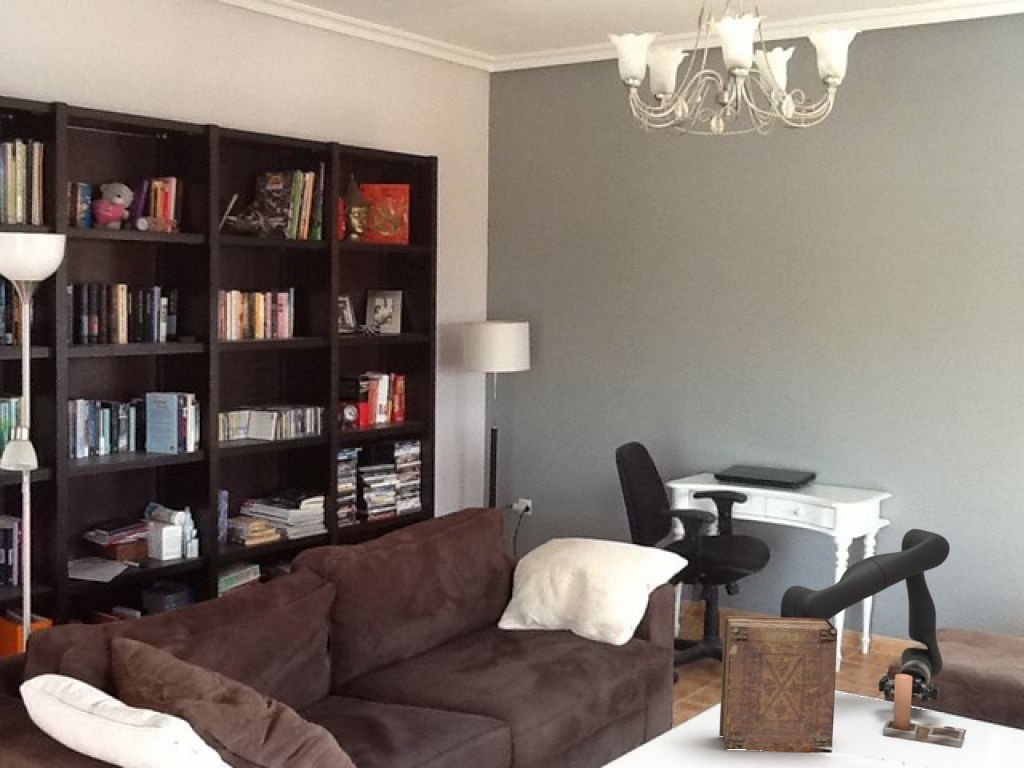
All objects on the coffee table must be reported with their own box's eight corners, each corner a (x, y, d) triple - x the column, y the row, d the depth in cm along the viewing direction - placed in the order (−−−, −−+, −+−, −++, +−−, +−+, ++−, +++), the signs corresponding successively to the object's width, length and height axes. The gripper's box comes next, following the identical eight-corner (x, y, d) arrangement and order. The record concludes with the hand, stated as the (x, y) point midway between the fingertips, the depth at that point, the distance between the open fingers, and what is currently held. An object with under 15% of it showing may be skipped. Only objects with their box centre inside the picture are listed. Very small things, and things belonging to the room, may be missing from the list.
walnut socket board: (882, 741, 308) (882, 729, 308) (890, 724, 321) (891, 712, 321) (960, 754, 301) (960, 741, 301) (966, 735, 314) (966, 723, 313)
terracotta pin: (891, 733, 310) (894, 677, 309) (894, 728, 313) (896, 673, 312) (908, 736, 308) (911, 679, 307) (910, 731, 312) (913, 675, 311)
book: (724, 750, 300) (729, 626, 298) (719, 736, 310) (723, 615, 307) (832, 753, 300) (837, 628, 298) (823, 739, 309) (828, 618, 307)
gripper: (886, 659, 332) (876, 676, 317) (943, 667, 326) (936, 685, 311) (884, 688, 333) (875, 706, 318) (941, 696, 327) (934, 715, 312)
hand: (905, 695), depth 315 cm, fingers open, 8 cm apart
